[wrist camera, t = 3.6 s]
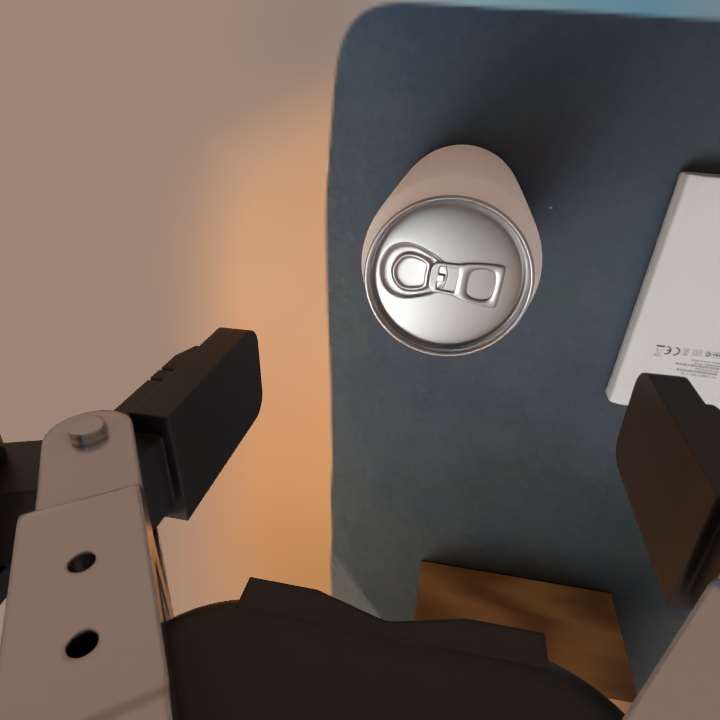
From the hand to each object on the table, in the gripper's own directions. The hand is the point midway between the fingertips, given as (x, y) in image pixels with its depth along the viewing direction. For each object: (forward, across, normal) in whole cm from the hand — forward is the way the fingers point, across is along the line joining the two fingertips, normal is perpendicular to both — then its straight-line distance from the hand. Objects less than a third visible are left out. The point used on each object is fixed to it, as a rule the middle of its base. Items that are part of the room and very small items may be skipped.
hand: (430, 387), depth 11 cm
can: (+19, 0, 0) cm, 19 cm away
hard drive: (+19, -14, +4) cm, 24 cm away
